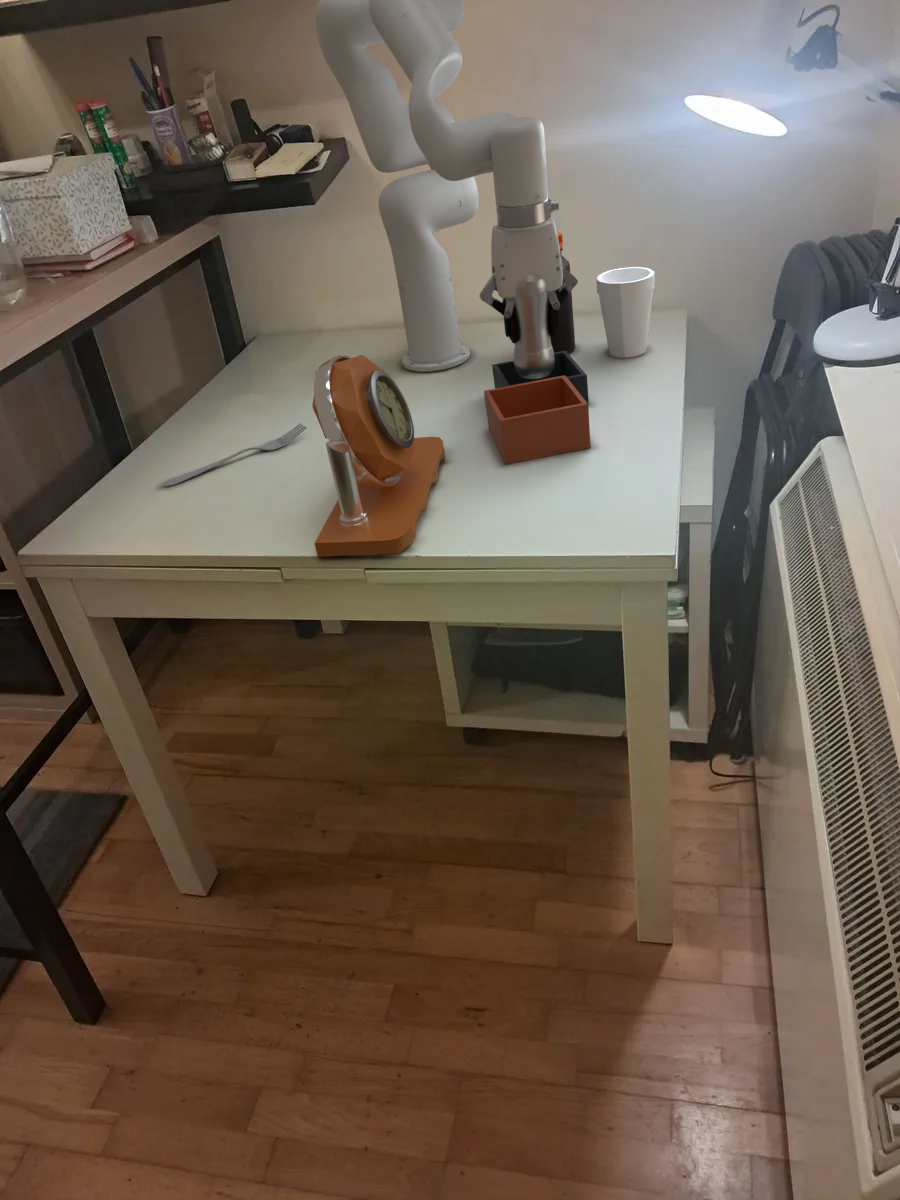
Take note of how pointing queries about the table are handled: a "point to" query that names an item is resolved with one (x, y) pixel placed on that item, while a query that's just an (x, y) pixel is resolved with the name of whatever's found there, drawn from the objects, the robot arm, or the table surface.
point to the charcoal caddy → (562, 366)
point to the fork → (269, 446)
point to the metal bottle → (532, 329)
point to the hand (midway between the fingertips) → (532, 335)
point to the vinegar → (564, 316)
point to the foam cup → (626, 309)
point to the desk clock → (371, 459)
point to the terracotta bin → (537, 419)
